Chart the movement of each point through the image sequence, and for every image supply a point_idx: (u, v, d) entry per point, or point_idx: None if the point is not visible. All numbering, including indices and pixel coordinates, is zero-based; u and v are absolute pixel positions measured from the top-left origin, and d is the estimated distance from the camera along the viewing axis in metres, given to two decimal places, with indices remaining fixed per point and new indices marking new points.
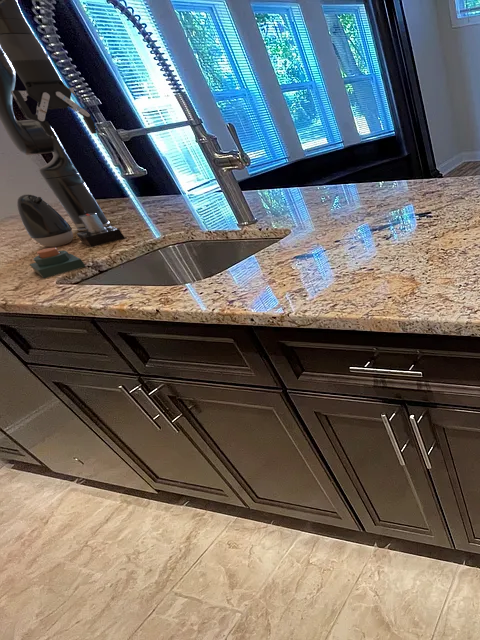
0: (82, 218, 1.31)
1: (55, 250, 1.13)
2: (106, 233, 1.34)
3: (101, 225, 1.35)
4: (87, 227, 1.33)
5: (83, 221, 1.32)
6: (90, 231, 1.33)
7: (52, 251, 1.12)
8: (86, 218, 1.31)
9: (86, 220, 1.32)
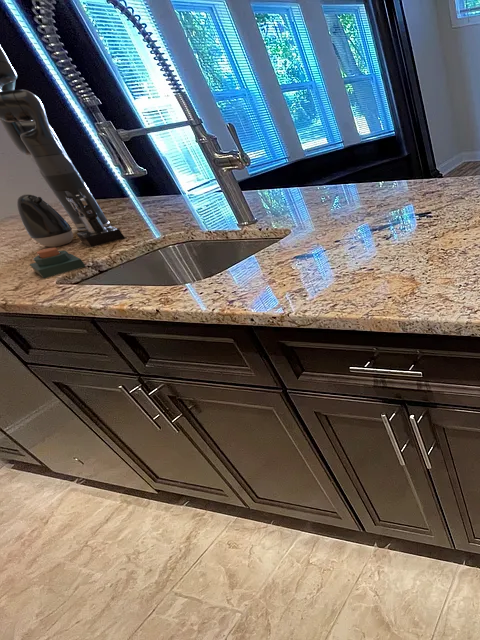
0: (82, 218, 1.31)
1: (55, 250, 1.13)
2: (106, 233, 1.34)
3: (101, 225, 1.35)
4: (87, 227, 1.33)
5: (83, 221, 1.32)
6: (90, 231, 1.33)
7: (52, 251, 1.12)
8: None
9: (86, 220, 1.32)
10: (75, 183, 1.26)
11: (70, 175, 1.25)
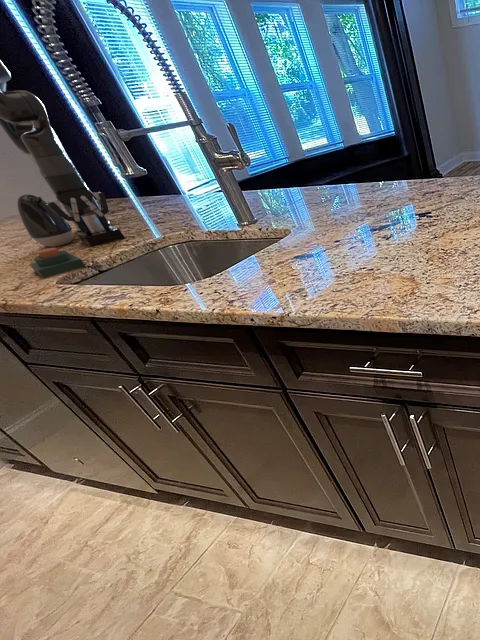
0: (94, 216, 1.33)
1: (55, 250, 1.13)
2: (106, 233, 1.34)
3: None
4: (99, 225, 1.34)
5: (95, 219, 1.33)
6: (102, 229, 1.35)
7: (52, 251, 1.12)
8: (96, 215, 1.34)
9: (97, 217, 1.34)
10: None
11: None
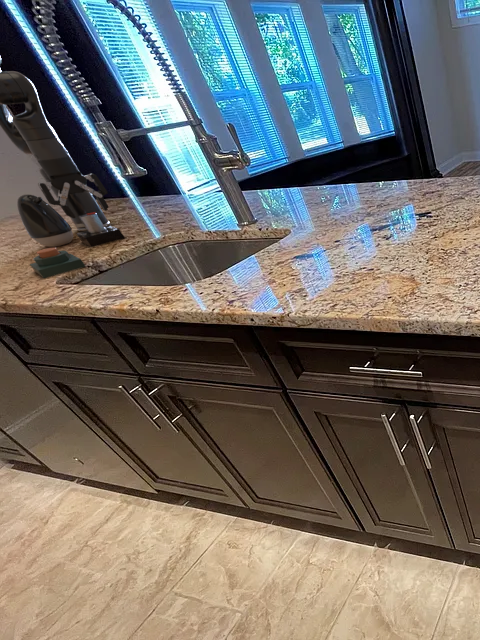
0: (94, 216, 1.33)
1: (55, 250, 1.13)
2: (106, 233, 1.34)
3: None
4: (99, 225, 1.34)
5: (95, 219, 1.33)
6: (102, 229, 1.35)
7: (52, 251, 1.12)
8: (96, 215, 1.34)
9: (97, 217, 1.34)
10: None
11: None
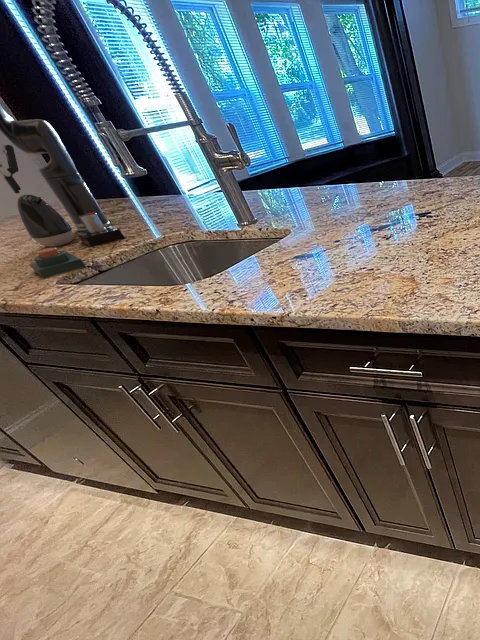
0: (94, 216, 1.33)
1: (55, 250, 1.13)
2: (106, 233, 1.34)
3: None
4: (99, 225, 1.34)
5: (95, 219, 1.33)
6: (102, 229, 1.35)
7: (52, 251, 1.12)
8: (96, 215, 1.34)
9: (97, 217, 1.34)
10: None
11: None
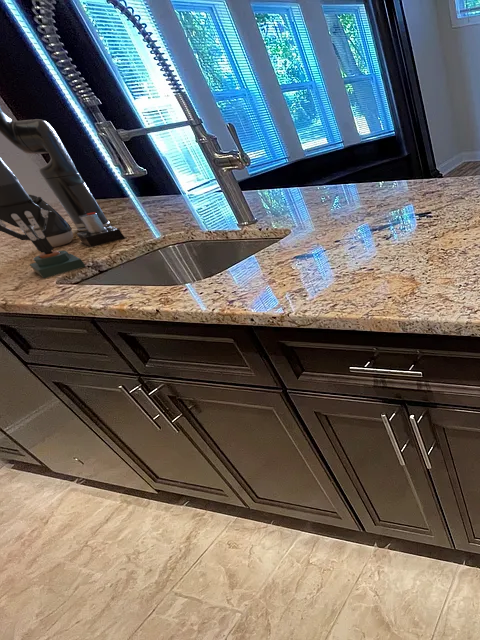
0: (94, 216, 1.33)
1: (57, 253, 1.13)
2: (106, 233, 1.34)
3: None
4: (99, 225, 1.34)
5: (95, 219, 1.33)
6: (102, 229, 1.35)
7: (54, 254, 1.13)
8: (96, 215, 1.34)
9: (97, 217, 1.34)
10: None
11: None
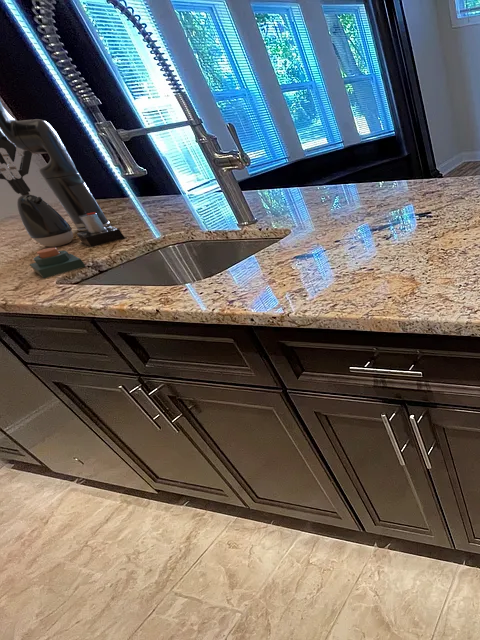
0: (94, 216, 1.33)
1: (55, 250, 1.13)
2: (106, 233, 1.34)
3: None
4: (99, 225, 1.34)
5: (95, 219, 1.33)
6: (102, 229, 1.35)
7: (52, 251, 1.12)
8: (96, 215, 1.34)
9: (97, 217, 1.34)
10: None
11: None
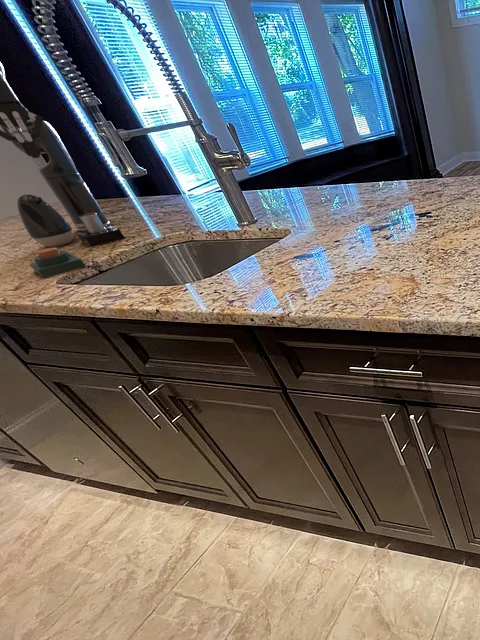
0: (94, 216, 1.33)
1: (55, 250, 1.13)
2: (106, 233, 1.34)
3: None
4: (99, 225, 1.34)
5: (95, 219, 1.33)
6: (102, 229, 1.35)
7: (52, 251, 1.12)
8: (96, 215, 1.34)
9: (97, 217, 1.34)
10: None
11: None
